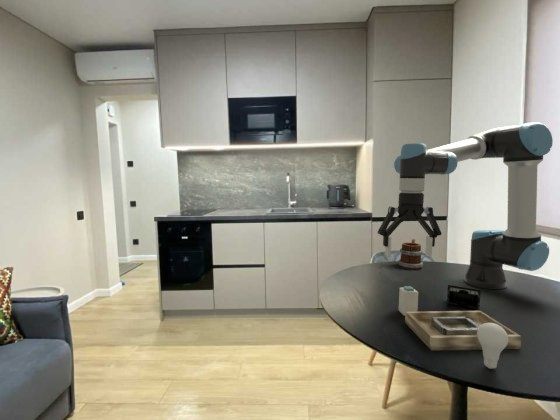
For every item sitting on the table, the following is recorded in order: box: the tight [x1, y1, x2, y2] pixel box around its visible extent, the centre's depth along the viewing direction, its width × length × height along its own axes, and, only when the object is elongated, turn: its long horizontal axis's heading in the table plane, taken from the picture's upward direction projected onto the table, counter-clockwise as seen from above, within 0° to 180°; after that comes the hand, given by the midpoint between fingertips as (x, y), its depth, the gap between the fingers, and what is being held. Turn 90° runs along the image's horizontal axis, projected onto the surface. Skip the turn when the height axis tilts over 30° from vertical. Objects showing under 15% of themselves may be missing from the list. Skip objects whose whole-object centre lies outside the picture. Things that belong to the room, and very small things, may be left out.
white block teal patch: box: [398, 285, 419, 316], centre depth 105 cm, size 4×4×9 cm
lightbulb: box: [477, 323, 508, 370], centre depth 74 cm, size 6×6×11 cm
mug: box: [397, 238, 424, 271], centre depth 160 cm, size 12×14×15 cm
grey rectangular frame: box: [431, 316, 480, 336], centre depth 91 cm, size 11×8×2 cm
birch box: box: [404, 310, 522, 351], centre depth 90 cm, size 24×16×4 cm, turn 92°
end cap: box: [446, 284, 482, 311], centre depth 111 cm, size 10×7×7 cm
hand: (408, 256), depth 104 cm, fingers open, 13 cm apart
